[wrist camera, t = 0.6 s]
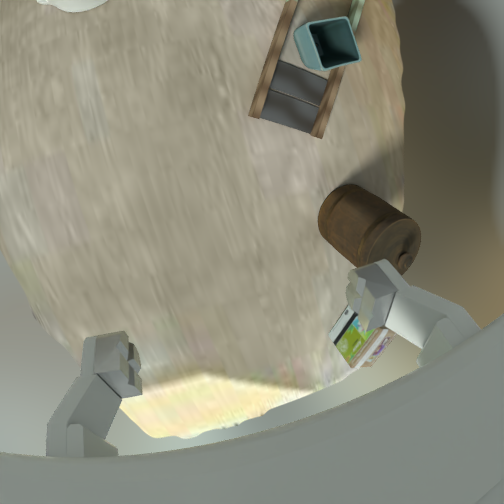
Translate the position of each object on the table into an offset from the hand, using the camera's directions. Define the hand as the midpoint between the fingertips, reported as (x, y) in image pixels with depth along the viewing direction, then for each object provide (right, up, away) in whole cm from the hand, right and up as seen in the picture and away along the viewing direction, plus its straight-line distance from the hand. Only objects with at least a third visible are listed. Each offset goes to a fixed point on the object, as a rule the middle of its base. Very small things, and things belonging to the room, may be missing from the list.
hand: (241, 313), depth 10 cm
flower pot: (+11, +40, +36) cm, 55 cm away
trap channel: (+11, +40, +36) cm, 55 cm away
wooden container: (+22, +11, +58) cm, 62 cm away
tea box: (+30, -18, +78) cm, 85 cm away
